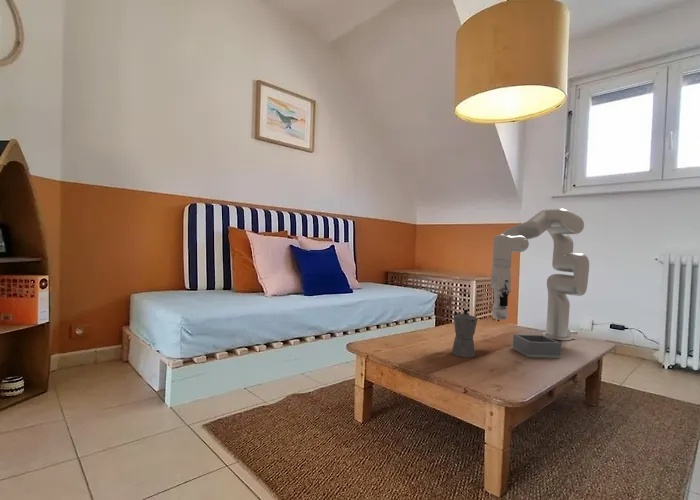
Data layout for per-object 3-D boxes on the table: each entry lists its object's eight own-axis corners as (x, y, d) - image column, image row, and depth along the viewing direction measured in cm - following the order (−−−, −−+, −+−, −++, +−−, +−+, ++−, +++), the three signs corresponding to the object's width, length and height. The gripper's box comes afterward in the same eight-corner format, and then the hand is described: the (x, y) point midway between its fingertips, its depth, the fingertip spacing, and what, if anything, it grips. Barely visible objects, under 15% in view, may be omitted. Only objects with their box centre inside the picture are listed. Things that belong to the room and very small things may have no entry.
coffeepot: (483, 359, 144) (485, 312, 143) (460, 359, 142) (463, 312, 141) (462, 347, 159) (465, 305, 158) (442, 348, 157) (444, 305, 156)
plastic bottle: (506, 318, 166) (508, 273, 165) (508, 321, 159) (510, 275, 159) (491, 317, 168) (492, 272, 167) (492, 320, 161) (493, 274, 161)
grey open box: (542, 349, 163) (543, 335, 163) (560, 358, 150) (561, 343, 150) (512, 348, 162) (513, 334, 162) (528, 357, 150) (528, 342, 149)
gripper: (485, 262, 171) (483, 301, 172) (502, 265, 154) (500, 308, 155) (501, 262, 171) (499, 301, 172) (520, 265, 154) (518, 308, 155)
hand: (500, 304), depth 163 cm, fingers closed on plastic bottle, 5 cm apart
